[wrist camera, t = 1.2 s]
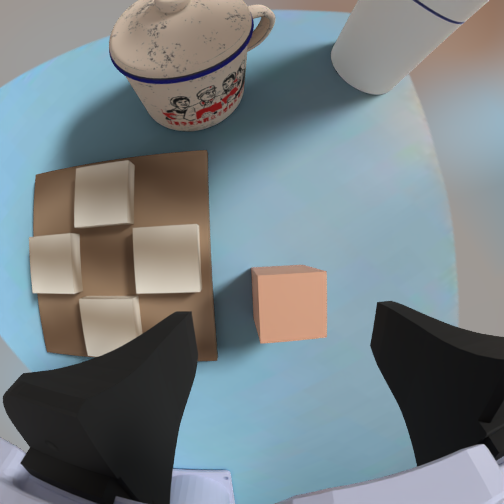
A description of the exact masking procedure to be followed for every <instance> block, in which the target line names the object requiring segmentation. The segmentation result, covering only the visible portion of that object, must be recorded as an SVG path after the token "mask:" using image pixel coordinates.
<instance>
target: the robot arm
mask: <svg viewBox="0 0 504 504" xmlns="http://www.w3.org/2000/svg"><path fill="white" fill-rule="evenodd" d="M370 346H371V349H372V352H373V355H374V358H375V360H376V363H377V365H378V367H379V369H380V371H381V373H382V375H383V377H384V379H385V380H386V382H387V384H388V386H389V388H390V390H391V392H392V393H393V395H394V397H395V399H396V401H397V403H398V405H399V407H400V409H401V412H402V414H403V417H404V420H405V423H406V426H407V429H408V432H409V435H410V439H411V442H412V446H413V450H414V454H415V458H416V463H417V467H415V468H412V469H409V470H406V471H402V472H399V473H396V474H392V475H389V476H385V477H381V478H377V479H373V480H369V481H365V482H360V483H355V484H350V485H345V486H340V487H334V488H328V489H324V490H320V491H315V492H311V493H306V494H301V495H296V496H293V497H291V498H288V499H286V500H283V501H280V502H278V503H275V504H504V337H498V336H492V335H486V334H480V333H476V332H472V331H468V330H465V329H461V328H458V327H455V326H452V325H449V324H447V323H444V322H442V321H439V320H437V319H434V318H432V317H429V316H427V315H425V314H422V313H420V312H418V311H416V310H413V309H411V308H409V307H407V306H404V305H402V304H399V303H396V302H393V301H385V302H377V308H376V314H375V321H374V327H373V333H372V339H371V344H370ZM197 361H198V350H197V343H196V337H195V331H194V324H193V317H192V311H176V312H174V313H172V314H171V315H169V316H168V317H166V318H165V319H163V320H162V321H160V322H159V323H158V324H156V325H155V326H153V327H152V328H150V329H149V330H147V331H146V332H144V333H143V334H141V335H139V336H138V337H136V338H135V339H133V340H131V341H130V342H128V343H126V344H125V345H123V346H121V347H119V348H117V349H115V350H113V351H111V352H108V353H106V354H104V355H102V356H99V357H96V358H93V359H91V360H88V361H85V362H82V363H79V364H75V365H72V366H68V367H63V368H59V369H54V370H48V371H40V372H32V373H23V374H22V375H21V376H20V377H19V378H18V379H17V380H16V381H15V383H14V384H13V385H12V386H11V387H10V388H9V389H8V391H6V393H5V394H4V396H3V404H4V407H5V410H6V413H7V415H8V416H9V418H10V419H11V421H12V423H13V424H14V426H15V427H16V429H17V430H18V431H19V433H20V434H21V435H22V437H23V438H24V440H25V441H26V442H27V444H28V445H29V446H30V449H29V450H28V452H27V453H25V452H24V451H23V450H21V449H20V448H19V447H17V446H15V445H14V444H12V443H10V442H8V441H6V440H5V439H3V438H1V437H0V504H235V500H234V494H233V487H232V480H231V473H230V472H229V471H227V470H184V469H173V464H174V456H175V449H176V443H177V437H178V431H179V427H180V423H181V419H182V416H183V412H184V409H185V406H186V403H187V400H188V397H189V394H190V391H191V387H192V384H193V381H194V378H195V373H196V368H197Z"/></svg>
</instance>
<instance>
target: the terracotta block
mask: <svg viewBox="0 0 504 504" xmlns="http://www.w3.org/2000/svg"><path fill="white" fill-rule="evenodd" d="M251 274H252V296H253V318H254V322H255V325H256V329H257V333H258V336H259V340H260V343H274V342H286V341H296V340H306V339H315V338H324V337H327V274H326V271H323V270H319V269H316V268H312V267H309V266H305V265H291V266H272V267H253V268H251Z"/></svg>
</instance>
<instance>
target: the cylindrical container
mask: <svg viewBox="0 0 504 504" xmlns="http://www.w3.org/2000/svg"><path fill="white" fill-rule="evenodd" d="M488 1H489V0H358V2H357V4H356V5H355V7H354V9H353V11H352V13H351V15H350V16H349V18H348V20H347V22H346V24H345V26H344V27H343V29H342V31H341V33H340V35H339V37H338V39H337V40H336V42H335V44H334V46H333V48H332V51H331V60H332V64H333V66H334V68H335V70H336V71H337V73H338V74H339V75H340V76H341V77H342V78H343V79H344V80H345V81H346V82H347V83H348V84H350V85H351V86H353V87H354V88H356V89H358V90H360V91H362V92H365V93H369V94H375V95H380V94H385V93H387V92H389V91H390V90H392V89H393V88H394V87H395V86H396V85H397V84H398V83H399V82H400V81H401V80H402V79H403V78H404V77H405V76H406V75H407V74H409V73H410V72H411V71H412V70H413V69H414V68H415V67H416V66H417V65H418V64H419V63H420V62H421V61H422V60H424V59H425V58H426V57H427V56H428V55H429V54H430V53H431V52H432V51H433V50H434V49H435V48H437V46H439V45H440V44H441V43H442V42H443V41H444V40H445V39H446V38H447V37H449V36H450V35H451V34H452V33H453V32H454V31H455V30H456V29H457V28H458V27H460V26H461V25H462V24H463V23H464V22H465V21H466V20H467V19H468V18H470V17H471V16H472V15H473V14H474V13H475V12H477V11H478V10H479V9H480V8H481V7H482V6H483V5H484V4H486V3H487V2H488Z"/></svg>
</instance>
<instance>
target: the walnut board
mask: <svg viewBox="0 0 504 504" xmlns="http://www.w3.org/2000/svg"><path fill="white" fill-rule="evenodd" d="M33 231H34V237H29V251H30V269H31V281H32V290H33V293H37V295H38V303H39V310H40V317H41V323H42V329H43V334H44V339H45V344H46V349H47V352H52V353H59V354H67V355H76V356H85V357H99V356H102V355H104V354H106V353H108V352H111V351H113V350H115V349H117V348H119V347H121V346H123V345H125V344H126V343H128V342H130V341H131V340H133V339H135V338H136V337H138V336H139V335H141V334H143V333H144V332H146V331H147V330H149V329H150V328H152V327H153V326H155V325H156V324H158V323H159V322H160V321H162V320H163V319H165V318H166V317H168V316H169V315H171V314H172V313H174V312H176V311H192V317H193V324H194V331H195V337H196V343H197V350H198V361H217V358H218V353H217V341H216V328H215V314H214V299H213V283H212V265H211V244H210V220H209V186H208V152H207V150H200V151H186V152H175V153H164V154H155V155H146V156H138V157H130V158H123V159H116V160H109V161H103V162H97V163H91V164H85V165H80V166H75V167H69V168H64V169H60V170H55V171H50V172H46V173H42V174H37V175H36V179H35V193H34V223H33Z"/></svg>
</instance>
